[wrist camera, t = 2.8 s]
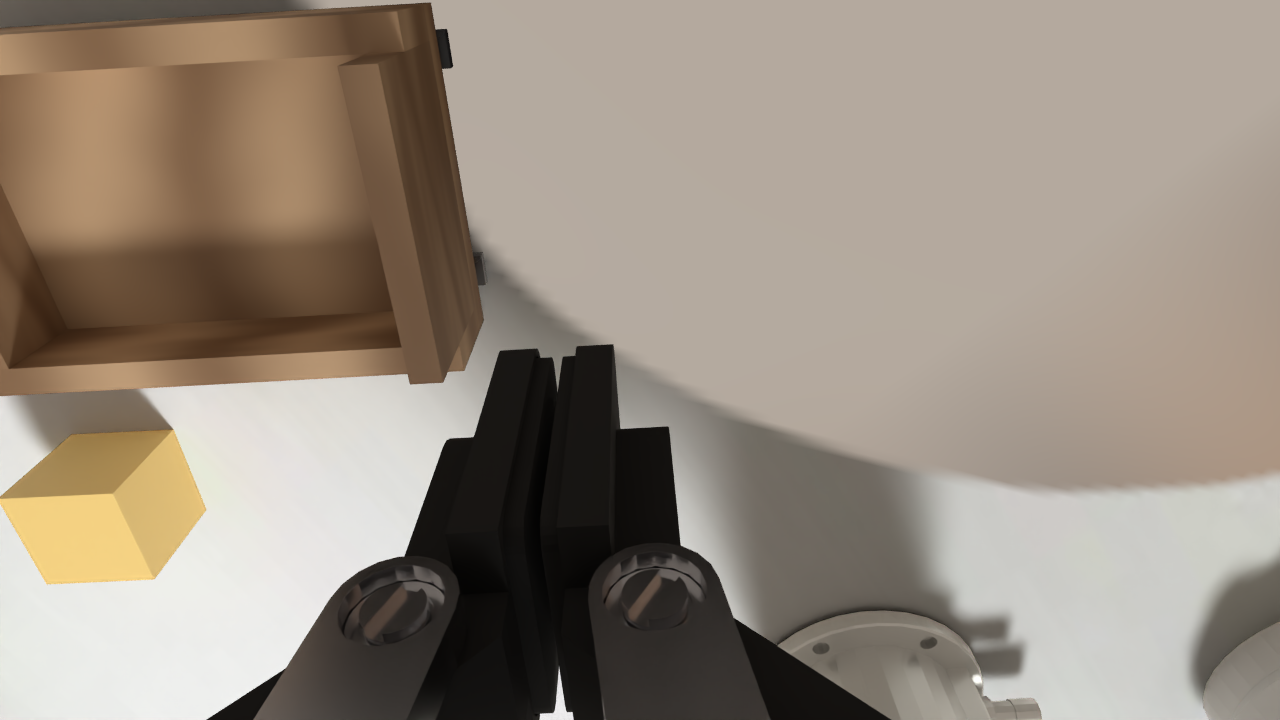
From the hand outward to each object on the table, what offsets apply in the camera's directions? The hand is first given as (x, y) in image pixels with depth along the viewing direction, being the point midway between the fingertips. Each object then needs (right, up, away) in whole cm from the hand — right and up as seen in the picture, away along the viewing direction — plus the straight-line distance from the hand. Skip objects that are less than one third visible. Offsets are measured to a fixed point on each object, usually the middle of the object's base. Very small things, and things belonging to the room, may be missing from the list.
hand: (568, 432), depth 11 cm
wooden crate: (-13, +8, +16) cm, 22 cm away
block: (-22, -4, +23) cm, 32 cm away
